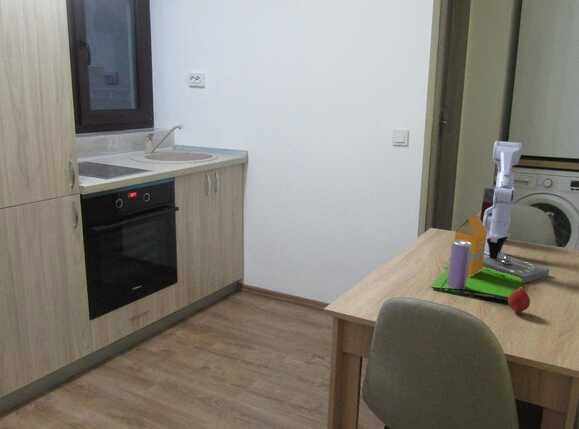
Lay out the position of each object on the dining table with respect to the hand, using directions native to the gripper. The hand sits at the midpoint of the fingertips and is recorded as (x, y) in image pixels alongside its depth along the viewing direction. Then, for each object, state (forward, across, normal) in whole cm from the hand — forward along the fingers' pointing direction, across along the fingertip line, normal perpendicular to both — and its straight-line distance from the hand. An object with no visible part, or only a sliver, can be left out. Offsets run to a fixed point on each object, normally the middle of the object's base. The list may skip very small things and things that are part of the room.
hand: (494, 257), depth 191 cm
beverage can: (+4, -29, +6) cm, 30 cm away
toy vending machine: (+4, +40, +8) cm, 41 cm away
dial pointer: (+1, -1, -6) cm, 6 cm away
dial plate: (+4, 0, -6) cm, 7 cm away
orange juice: (+4, -12, +7) cm, 14 cm away
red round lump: (+4, -39, -14) cm, 42 cm away
